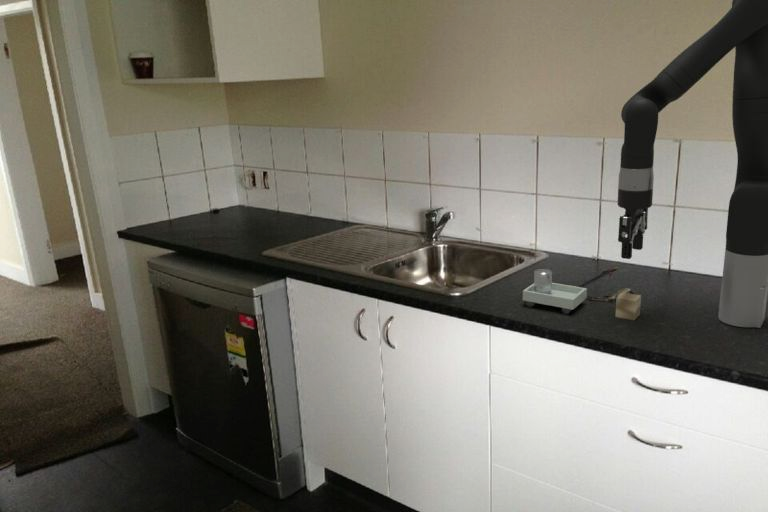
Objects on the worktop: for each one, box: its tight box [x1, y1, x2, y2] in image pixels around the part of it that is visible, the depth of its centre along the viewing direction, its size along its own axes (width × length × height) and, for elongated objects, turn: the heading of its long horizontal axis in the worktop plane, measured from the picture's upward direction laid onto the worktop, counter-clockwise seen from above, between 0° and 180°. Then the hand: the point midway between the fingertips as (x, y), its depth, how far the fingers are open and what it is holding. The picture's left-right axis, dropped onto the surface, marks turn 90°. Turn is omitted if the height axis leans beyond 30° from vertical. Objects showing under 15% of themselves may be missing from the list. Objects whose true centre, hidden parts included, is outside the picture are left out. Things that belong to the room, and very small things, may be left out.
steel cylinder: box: [533, 268, 553, 295], centre depth 167 cm, size 4×4×6 cm
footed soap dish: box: [522, 282, 588, 315], centre depth 166 cm, size 13×9×4 cm
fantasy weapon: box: [576, 266, 635, 303], centre depth 178 cm, size 29×2×15 cm
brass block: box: [615, 292, 642, 321], centre depth 157 cm, size 4×4×5 cm
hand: (632, 253), depth 153 cm, fingers open, 8 cm apart
